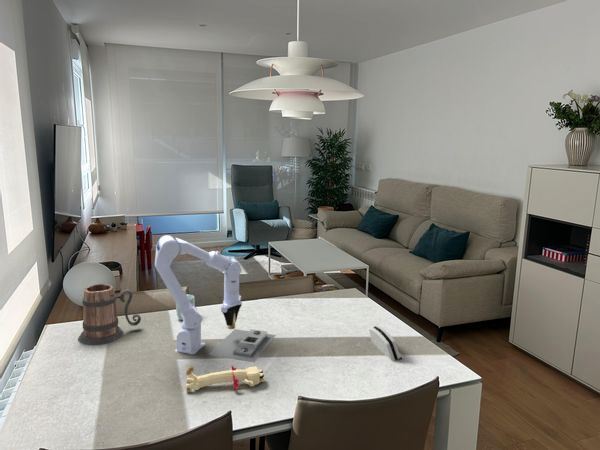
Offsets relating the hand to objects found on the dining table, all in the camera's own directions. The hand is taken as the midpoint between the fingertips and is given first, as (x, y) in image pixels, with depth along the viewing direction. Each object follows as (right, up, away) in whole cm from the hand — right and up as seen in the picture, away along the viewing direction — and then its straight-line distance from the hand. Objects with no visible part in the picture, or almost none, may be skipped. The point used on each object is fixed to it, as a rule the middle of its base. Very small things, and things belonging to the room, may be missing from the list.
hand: (231, 323), depth 176 cm
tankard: (-49, -6, +4) cm, 50 cm away
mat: (+5, -8, -2) cm, 10 cm away
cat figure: (+3, -14, -30) cm, 33 cm away
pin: (0, -2, 0) cm, 2 cm away
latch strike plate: (+8, -8, -3) cm, 12 cm away
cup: (-23, -3, +22) cm, 32 cm away
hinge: (+59, -10, -3) cm, 60 cm away
